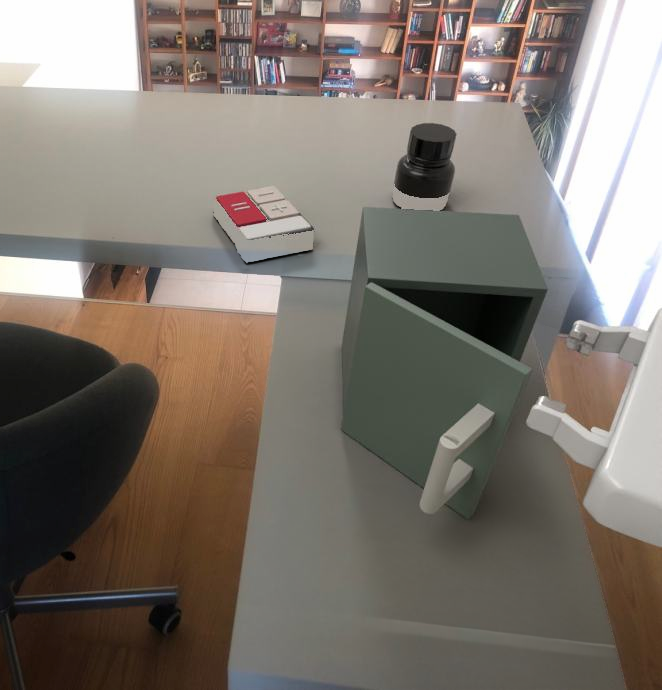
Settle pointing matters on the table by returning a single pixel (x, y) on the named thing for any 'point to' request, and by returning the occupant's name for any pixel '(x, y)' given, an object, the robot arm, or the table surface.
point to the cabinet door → (430, 399)
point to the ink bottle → (427, 162)
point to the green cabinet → (449, 274)
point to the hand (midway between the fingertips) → (551, 368)
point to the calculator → (271, 205)
